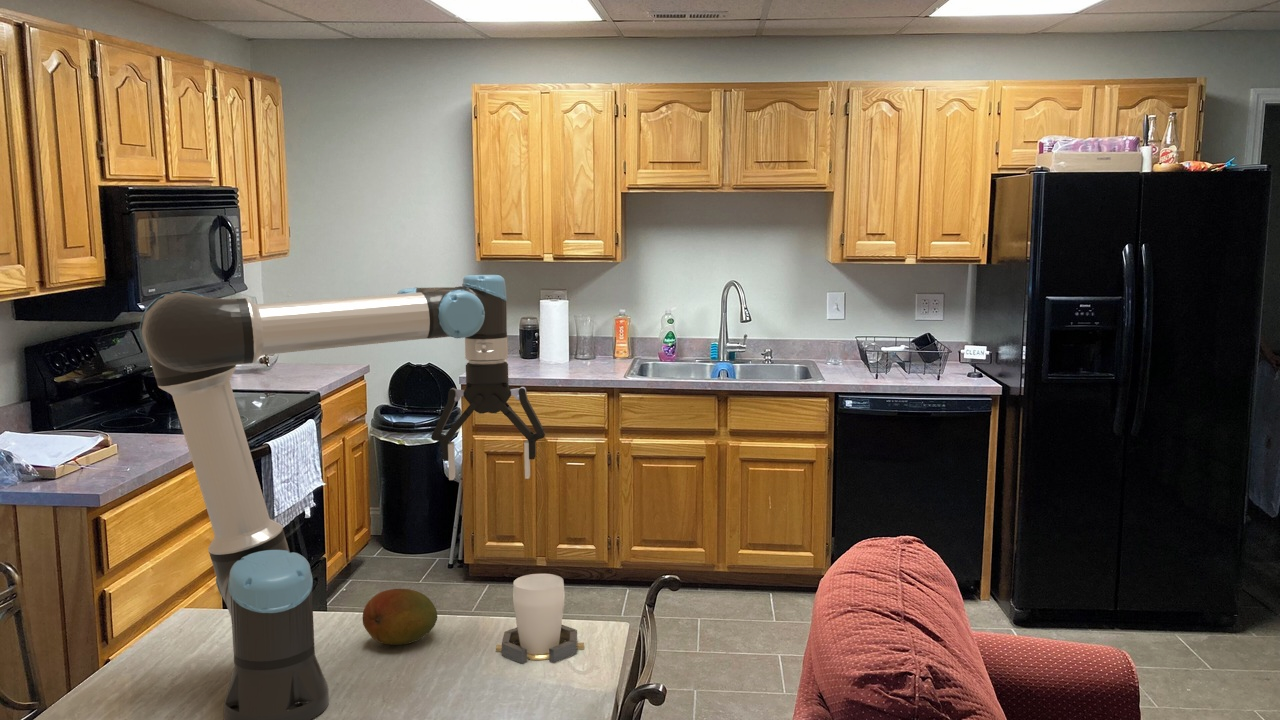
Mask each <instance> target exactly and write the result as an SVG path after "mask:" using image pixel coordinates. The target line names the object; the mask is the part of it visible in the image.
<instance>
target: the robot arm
mask: <svg viewBox="0 0 1280 720" xmlns="http://www.w3.org/2000/svg"><path fill="white" fill-rule="evenodd" d="M507 302H508V296H507V286H506V280H505V278H504V277H503V276H501V275H500V274H499V275H498V274H474V275H473V274H472V275H471V274H469V275H465V276H464V277H463V279H462V284H461V286H459V285H458V286H454V287H452V286H451V287H450V286H449V287H416V286H415V287H412V288H402V289H400V290H399V291H398V292H397V293H395V294H381V295H379V294H378V295H370V296H369V295H368V296H356V297H355V296H353V297H343V298H342V297H340V298H338V297H337V298H325V299H312V300H311V299H310V300H297V301H288V302H287V301H284V302H270V303H269V302H268V303H254V302H253V301H252V300H250V299H249V298H247V297H246V298H245V297H244V298H243V297H241V298H230V299H229V298H215V297H214V298H213V297H207V296H204V295H202V294H199V293H197V292H194V291H189V290H180V291H171V292H169V293H165V294H162V295H160V296H159V297H156V298H155V299H154V300H153V301H151V303H149V305H148V306H147V307H146V308H145V310H144V312H143V314H142V315H141V318H140V323H139V335H140V339H141V342H142V344H143V346H144V347H145V349H146V351H147V356H148V359H149V362H150V365H151V368H152V371H153V375H154V377H155V380H156V384H157V387H158V388H159V389H161V390H162V391H165V392H166V393H168V394H170V395H171V396H172V400H173V402H174V405H175V409H176V412H177V416H178V420H179V422H180V426H181V430H182V433H183V435H184V439H185V442H186V446H187V448H188V453H189V455H190V458H191V462H192V465H193V468H194V471H195V475H196V479H197V481H198V485H199V489H200V492H201V496H202V498H203V501H204V505H205V508H206V511H207V514H208V518H209V521H210V524H211V525H210V526H211V528H212V531H213V535H214V536H213V539H212V540H211V542H210V544H209V546H208V547H207V550H208V553H209V557H210V560H211V563H212V567H213V570H214V574H215V583H216V586H217V590H218V592H219V595H221V598H222V599H223V601H224V603H225V605H226V609H227V610H228V613H229V614H230V621H231V629H232V648H233V649H232V650H233V651H232V652H233V670H232V673H231V677H230V679H229V684H228V687H227V692H226V694H225V698H224V702H223V709H224V711H223V713H224V714H223V715H224V720H312V719H314V718H316V717H318V716H319V715H321V714H322V713H323V712H324V711H325V710H326V709H327V707H328V706H329V703H330V693H329V685H328V682H327V681H326V677H325V676H324V673H323V670H322V668H321V666H320V663H319V662H318V659H317V656H316V650H315V649H316V648H315V630H314V608H313V607H314V605H313V604H314V603H313V585H314V584H313V581H314V579H313V575H312V570H311V566H310V565H311V564H310V563H309V561H308V560H307V559H306V557H304V556H303V555H301V554H300V553H298V552H290V548H289V545H288V541H287V539H286V534H285V531H284V528H283V527H284V526H283V525H282V524H281V523H279V522H278V521H275V520H273V519H271V518H270V516H269V511H268V508H267V505H266V501H265V499H264V495H263V491H262V489H261V488H262V487H261V484H260V481H259V478H258V474H257V472H256V471H257V470H256V468H255V464H254V460H253V457H252V453H251V451H250V446H249V443H248V440H247V436H246V432H245V430H244V426H243V422H242V419H241V415H240V412H239V410H238V409H239V408H238V405H237V402H236V399H235V393H234V392H233V387H232V385H231V384H232V383H231V381H230V380H231V378H232V376H233V374H234V372H235V371H236V369H237V365H245V364H254V363H256V362H257V360H258V359H259V358H260V357H261V356H264V355H265V356H266V355H275V354H287V353H295V352H306V351H307V352H308V351H314V350H317V351H318V350H325V349H326V350H327V349H335V348H344V347H345V348H348V347H356V346H357V347H358V346H365V345H377V344H386V343H397V342H398V343H399V342H407V341H417V340H427V339H428V340H429V339H430V340H431V339H439V338H441V339H442V338H454V339H463V338H464V348H465V349H464V351H465V353H464V354H465V357H464V358H465V360H466V361H468V362H466V364H465V388H464V389H458V388H456V387H452V388H450V389H449V390H448V392H447V394H448V395H447V402H446V404H445V406H444V407H443V408H444V409H443V410H442V413H441V415H440V417H439V419H438V421H437V424H436V425H435V427H434V430H433V432H432V434H431V436H430V438H431V440H432V441H434V442H435V441H436V442H438V443H440V444H441V450H442V451H441V452H442V453H441V457H442V461H443V462H447V463H448V480H449V481H453V480H455V479H456V457H455V456H456V455H455V453H456V452H455V451H456V450H455V441H451V439H452V438H453V436H454V435H455V434H456V433H457V432H458V431H459V429H460V428H461V427H462V426H463V425H464V423H465V422H466V421H467V420H468V419H469V417H470V416H471V414H472V413H473V412H474V411H475V412H476V413H478V414H479V415H481V414H482V415H483V414H486V413H489V414H497V413H499V412H501V413H502V414H504V416H505V417H506V418H507V419H508V421H510V422H511V423H512V425H514V427H515V428H517V430H518V431H519V432H520V433H521V434H522V435H523V436H524V438H525V439H526V440H525V441H524V442H523V444H524V445H523V446H524V447H523V448H524V449H523V450H524V451H523V452H524V453H523V455H524V479H525V480H526V479H528V480H529V479H530V477H531V460H535V458H536V456H537V446H536V444H537V441H539V440H541V439H542V440H543V439H544V438H545V436H546V430H545V429H544V427H543V425H542V422H541V421H540V418H539V417H538V416H537V414H536V412H535V409H534V408H533V406H532V403H530V401H529V398H528V395H527V394H528V393H527V387H525V386H521V387H520V388H518V387H517V388H512V389H511V387H510V385H509V383H510V382H509V363H508V362H507V361H505V360H507V359H508V358H509V355H508V354H509V352H508V351H509V349H508V348H509V346H508V330H507V329H508V327H507V326H508V323H507V320H508V318H507V316H508V314H507V313H508V311H507V309H508V308H507V307H508V306H507V305H508V303H507ZM462 397H464V399H465V400H466V401H467V403H468V404H469V405H468V406H467V408H466V409H465V410H464V412H463V413H462V414H461V415H460V416H459V417H458V419H457V420H456V421H455V422H454V423H453V425H452V426H451V427H450V429H449V430H448V431H447V432H446V433H445V434H443V433H442V432H443V430H444V428H445V426H446V424H447V421H448V419H449V418H450V417H451V414H452V411H453V409H454V407H455V405H456V403H457V402H459V401H460V400H461V398H462ZM511 397H514V398H515V400H517V401H519V403H520V405H521V407H522V409H523V411H524V413H525V414H526V417H527V419H528V420H529V422H530V423H531V424H530V425H531V426H532V427H533V429H534V431H535V432H533V431H532V429H531V428H529V426H528V425H527V424H526V423H525V422H524V421H523V420H522V419H521V417H520V416H519V415H518V414H517V413H516V412H515V410H513V408H512V406H511V405H510V404H509V403H508V401H509V400H510V398H511Z"/></svg>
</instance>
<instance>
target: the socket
mask: <svg viewBox="0 0 1280 720" xmlns="http://www.w3.org/2000/svg"><path fill="white" fill-rule="evenodd" d="M578 649H579V650H585V642H578V629H576V628H572V627H570V626H567V625H564V624H561V632H560V640H559V645H558V646H555V647H553V648H550V649H549V653H548V654H543V655H533V654H528V653H527V649H525V648H522V647H521V646H520V640H519V634H518V628H517V626H516V627H514V628H511V629H509V630H506V631H504V632H503V636H502V641H501V644H496V646H495V652H496V653H497V652H501V656H502V657H504V658H507V659H509V660H511V661H514V662H516V663H518V664H520V665H521V664H522V665H523V664H525V663H528V661H546V660H549V662H551V663H553V664H555V663H557V662H560V661H563V660H566V659H567V658H570V657H572V656H575V655H577V651H578Z"/></svg>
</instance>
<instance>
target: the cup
mask: <svg viewBox="0 0 1280 720" xmlns="http://www.w3.org/2000/svg"><path fill="white" fill-rule="evenodd" d="M512 585H513V590H512V591H513V592H512V604H513V609H514V615H515V621H516V627H517V628H518V634H519V640H520V646H521V647H522V648H525V649H527V653H528V654H533V655H543V654H548V653H549V649H550V648H553V647H555V646H558V645H559V640H560V632H561V624H562V623H563V614H564V608H565V597H566V596H565V583H564V578H562V577H561V576H559V575H557V574H551V573H532V574H530V573H529V574H525V575H522V576H520V577H519V576H518V577H517V578H516V579H515V580H513V584H512ZM562 625H563V624H562Z"/></svg>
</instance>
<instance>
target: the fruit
mask: <svg viewBox="0 0 1280 720" xmlns="http://www.w3.org/2000/svg"><path fill="white" fill-rule="evenodd" d="M437 619H438V611H437V608H436V606H435V605H434V603H433V602H432V600H430V598H429V597H428V596H427V595H425V594H424V593H421V592H419V591H416V590H414V589H410V588H409V589H408V588H392V589H386V590H382V591H381V592H379V593H376V595H374V596H373V597H372V598H370V600H369V601H368V602H367V603H366V605H365V606H364V609H363V611H362V625H363V627H364V629H365V631H366V632H367V633H368V634H369V635H370V637H372V638H373V639H374V640H376V641H377V642H379V643H381V644H384V645H391V646H392V645H395V646H402V645H407V644H411V643H415V642H416V641H419V640H422V638H424V637H425V636H427V635H428V634H429V633H430V632H432V630H433V629H434V627H435V625H436V623H437V621H438V620H437Z"/></svg>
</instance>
